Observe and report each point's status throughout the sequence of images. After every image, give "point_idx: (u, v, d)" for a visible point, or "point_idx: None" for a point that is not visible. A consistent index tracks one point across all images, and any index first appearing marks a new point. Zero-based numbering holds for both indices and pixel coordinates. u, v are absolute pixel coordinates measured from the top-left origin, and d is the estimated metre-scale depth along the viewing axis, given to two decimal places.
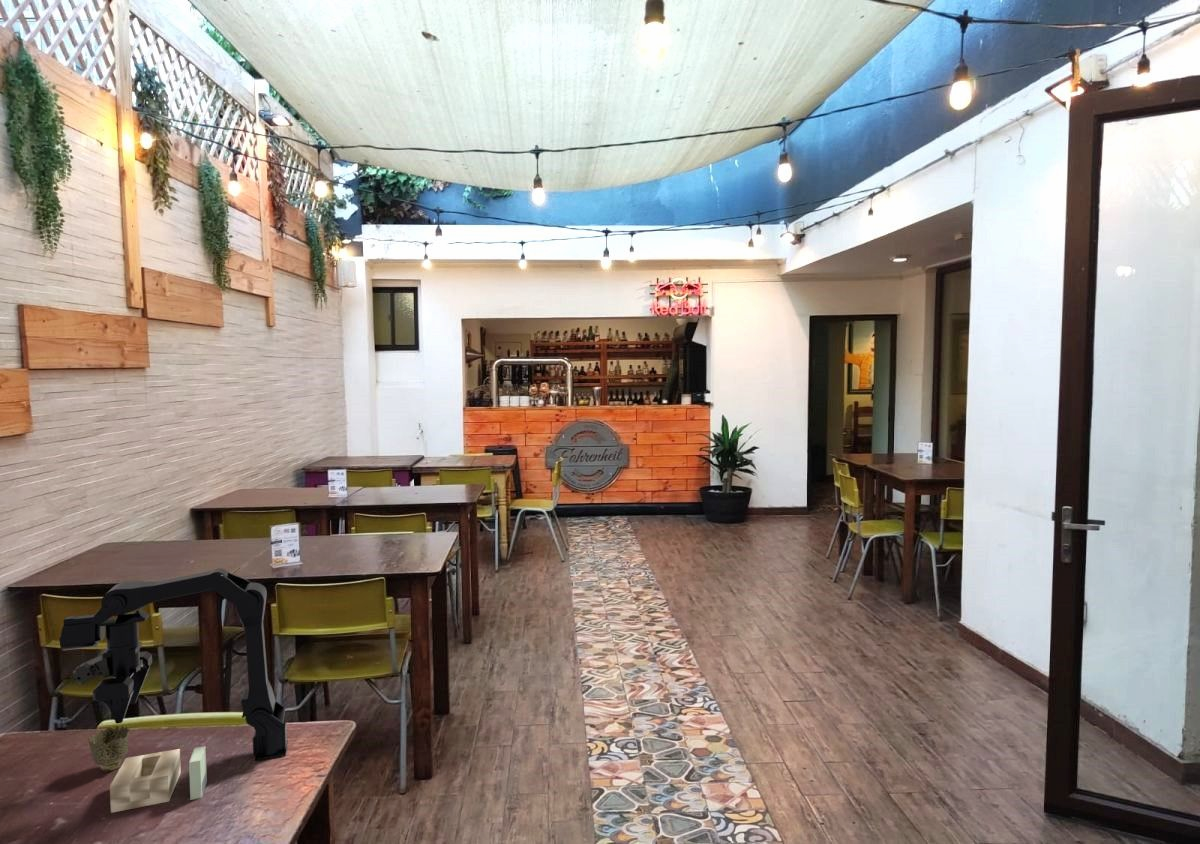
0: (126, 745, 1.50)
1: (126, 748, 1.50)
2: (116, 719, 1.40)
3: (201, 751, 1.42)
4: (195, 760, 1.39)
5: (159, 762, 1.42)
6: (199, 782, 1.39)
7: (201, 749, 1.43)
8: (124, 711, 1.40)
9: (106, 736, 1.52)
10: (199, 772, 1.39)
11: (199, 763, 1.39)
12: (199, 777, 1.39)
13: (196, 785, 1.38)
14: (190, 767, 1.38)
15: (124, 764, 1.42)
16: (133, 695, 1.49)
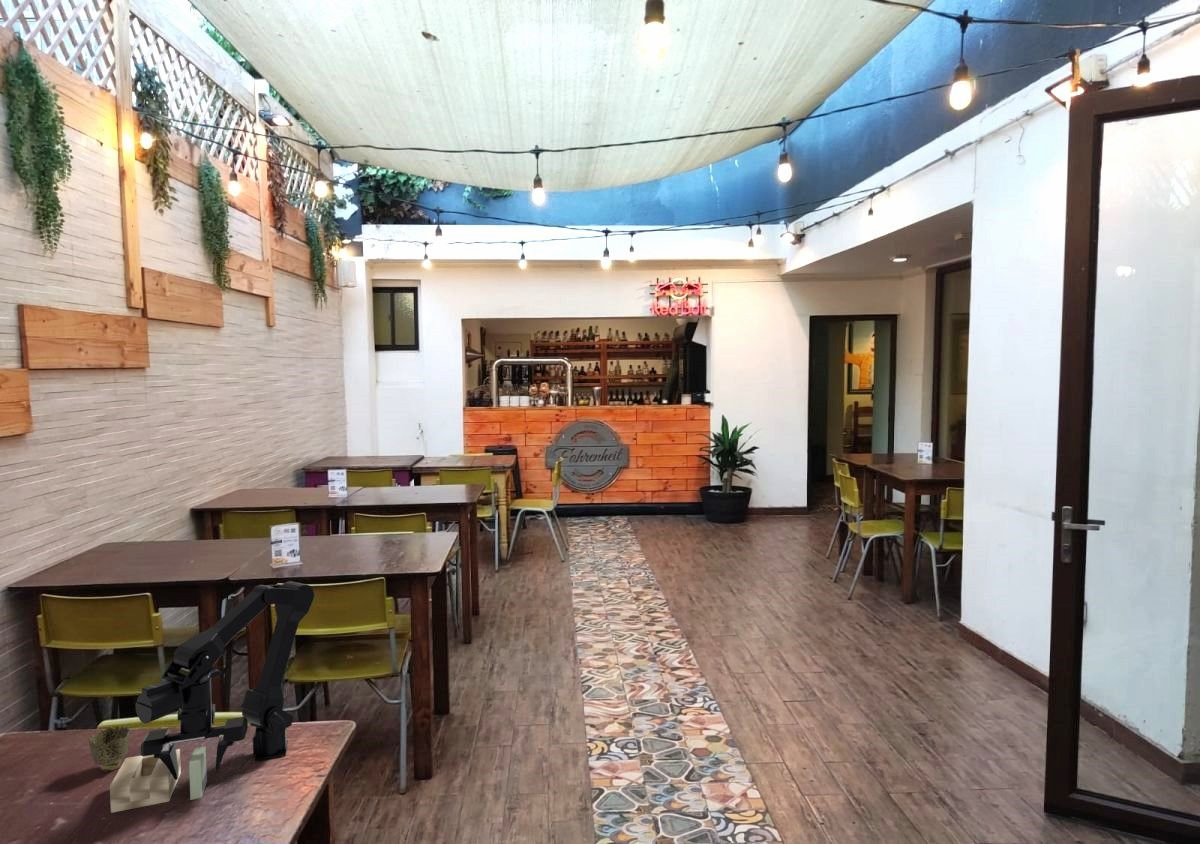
0: (126, 745, 1.50)
1: (126, 748, 1.50)
2: None
3: (201, 751, 1.42)
4: (195, 760, 1.39)
5: (159, 762, 1.42)
6: (199, 782, 1.39)
7: (201, 749, 1.43)
8: (169, 770, 1.38)
9: (106, 736, 1.52)
10: (199, 772, 1.39)
11: (199, 763, 1.39)
12: (199, 777, 1.39)
13: (196, 785, 1.38)
14: (190, 767, 1.38)
15: (124, 764, 1.42)
16: None
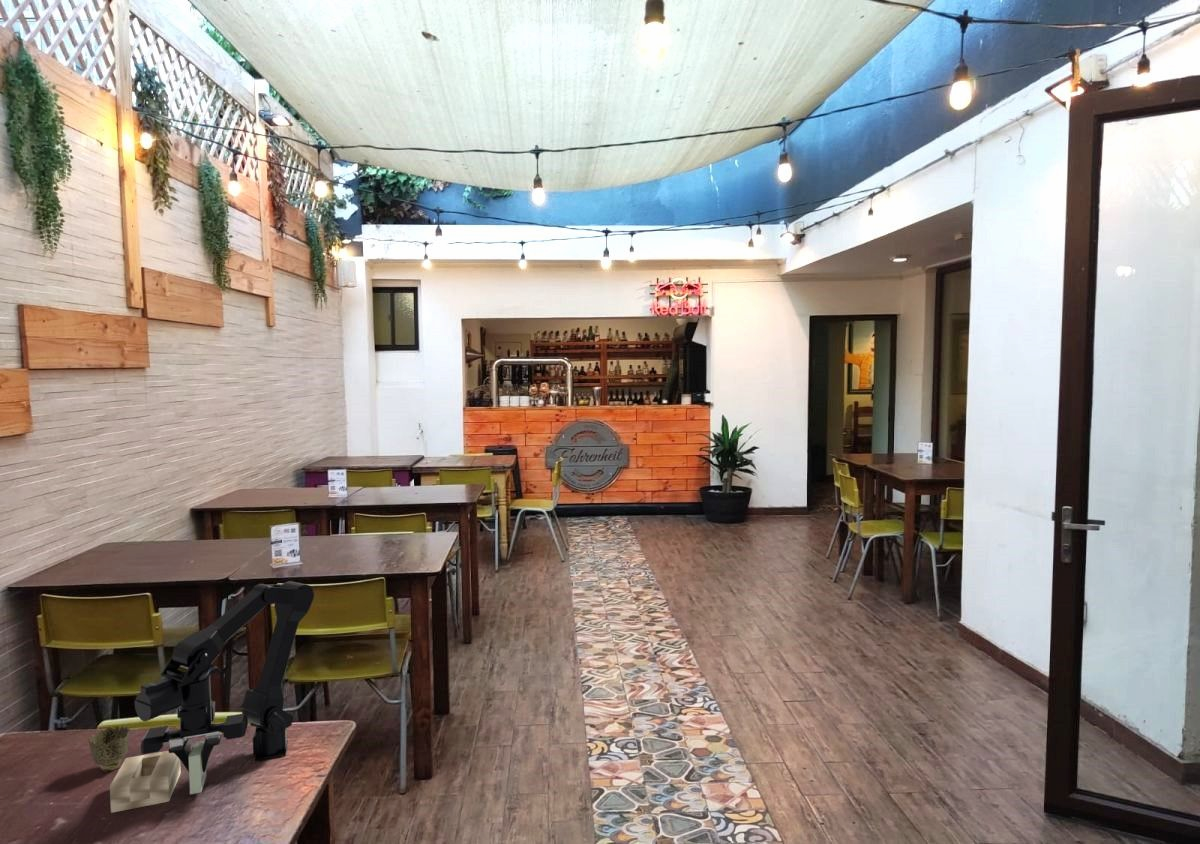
0: (126, 745, 1.50)
1: (126, 748, 1.50)
2: None
3: (201, 746, 1.42)
4: (194, 754, 1.38)
5: (159, 762, 1.42)
6: (199, 776, 1.39)
7: (201, 744, 1.43)
8: None
9: (106, 736, 1.52)
10: (199, 766, 1.38)
11: (198, 757, 1.38)
12: (199, 771, 1.38)
13: (196, 780, 1.38)
14: (189, 761, 1.38)
15: (124, 764, 1.42)
16: None
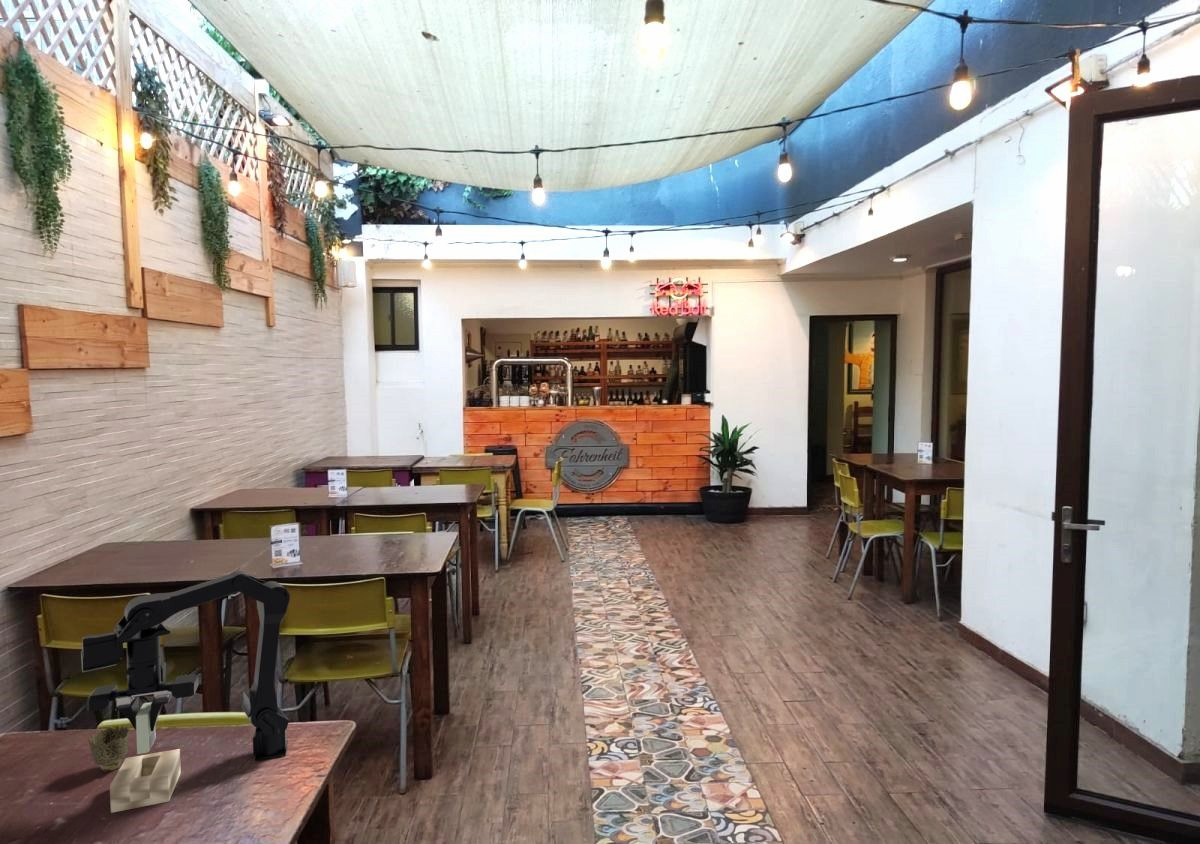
0: (126, 745, 1.50)
1: (126, 748, 1.50)
2: None
3: (149, 706, 1.41)
4: (142, 714, 1.38)
5: (159, 762, 1.42)
6: (146, 736, 1.38)
7: (150, 704, 1.42)
8: (131, 723, 1.38)
9: (106, 736, 1.52)
10: (146, 726, 1.38)
11: (146, 717, 1.38)
12: (146, 731, 1.38)
13: (143, 739, 1.37)
14: (137, 721, 1.37)
15: (124, 764, 1.42)
16: None
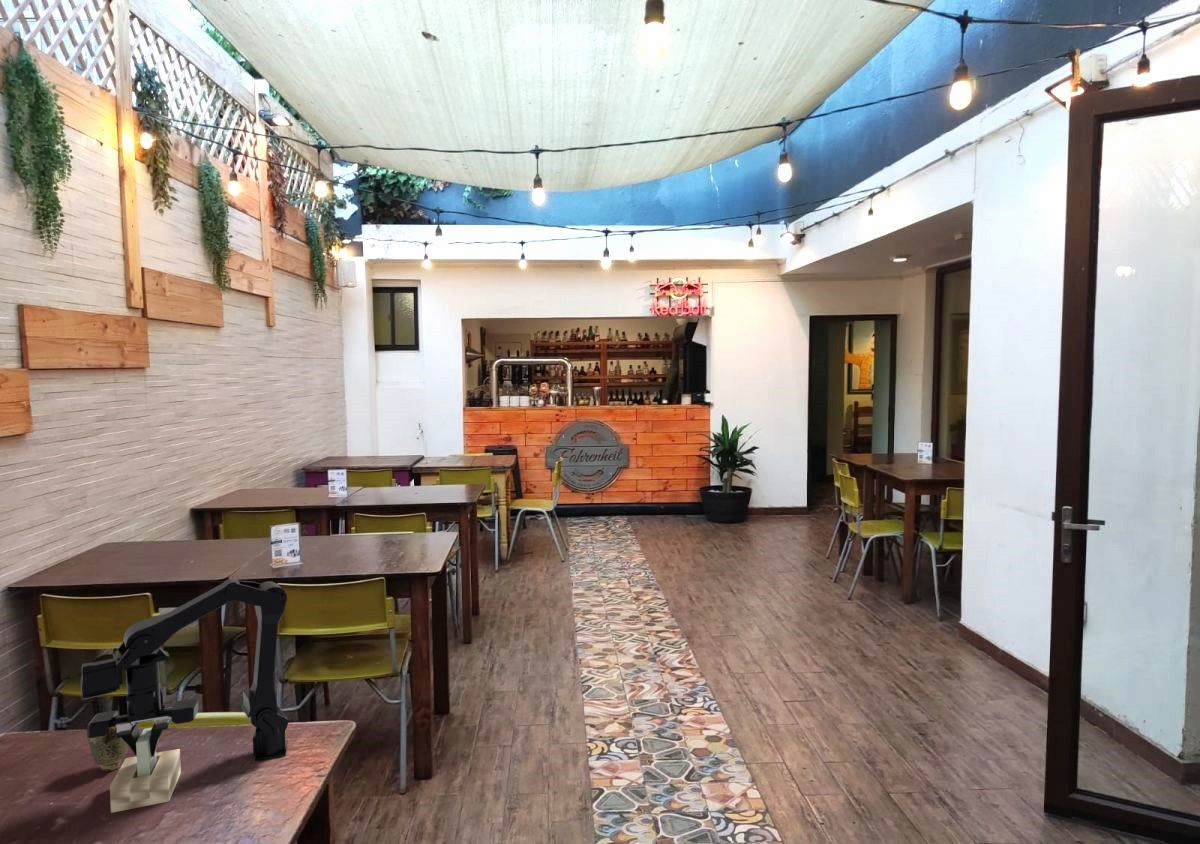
0: (126, 745, 1.50)
1: (126, 748, 1.50)
2: None
3: (150, 732, 1.41)
4: (142, 740, 1.38)
5: (159, 762, 1.42)
6: (146, 762, 1.38)
7: (150, 730, 1.42)
8: None
9: (106, 736, 1.52)
10: (146, 752, 1.38)
11: (146, 743, 1.38)
12: (146, 757, 1.38)
13: (143, 766, 1.38)
14: (137, 747, 1.37)
15: (124, 764, 1.42)
16: None
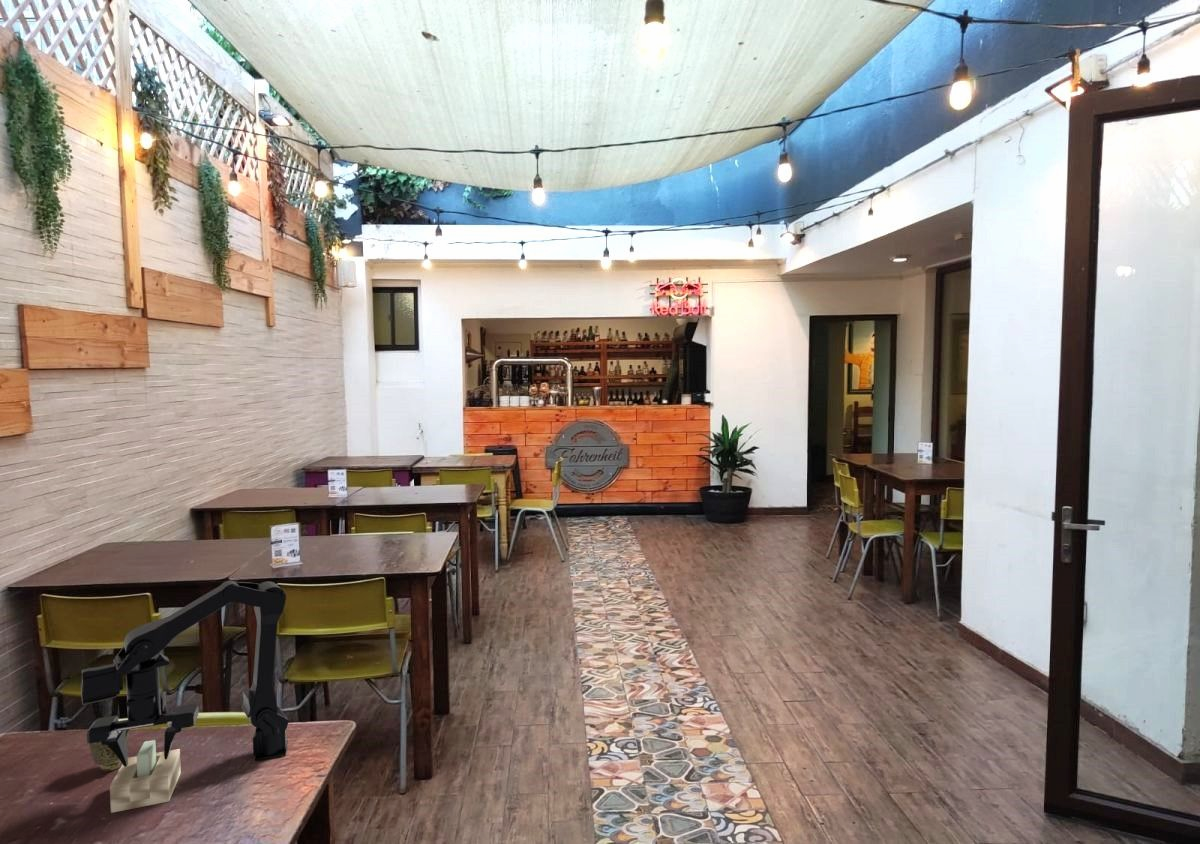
0: (126, 745, 1.50)
1: None
2: None
3: (150, 745, 1.42)
4: (143, 754, 1.38)
5: (159, 762, 1.42)
6: None
7: (150, 743, 1.42)
8: None
9: None
10: (147, 766, 1.38)
11: (147, 757, 1.38)
12: (147, 771, 1.38)
13: None
14: (138, 761, 1.38)
15: None
16: None
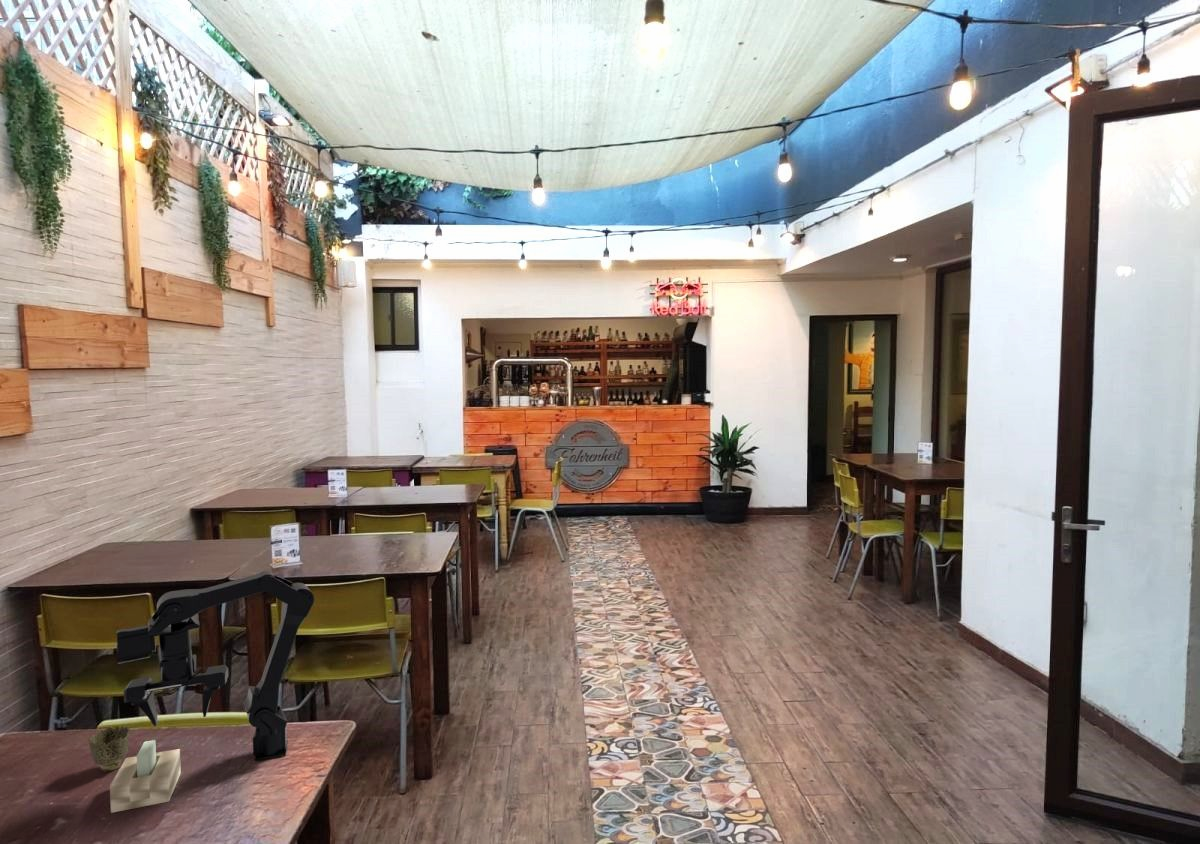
0: (126, 745, 1.50)
1: (126, 748, 1.50)
2: None
3: (150, 745, 1.42)
4: (143, 754, 1.38)
5: (159, 762, 1.42)
6: None
7: (150, 743, 1.42)
8: None
9: (106, 736, 1.52)
10: (147, 766, 1.38)
11: (147, 757, 1.38)
12: (147, 771, 1.38)
13: None
14: (138, 761, 1.38)
15: (124, 764, 1.42)
16: None
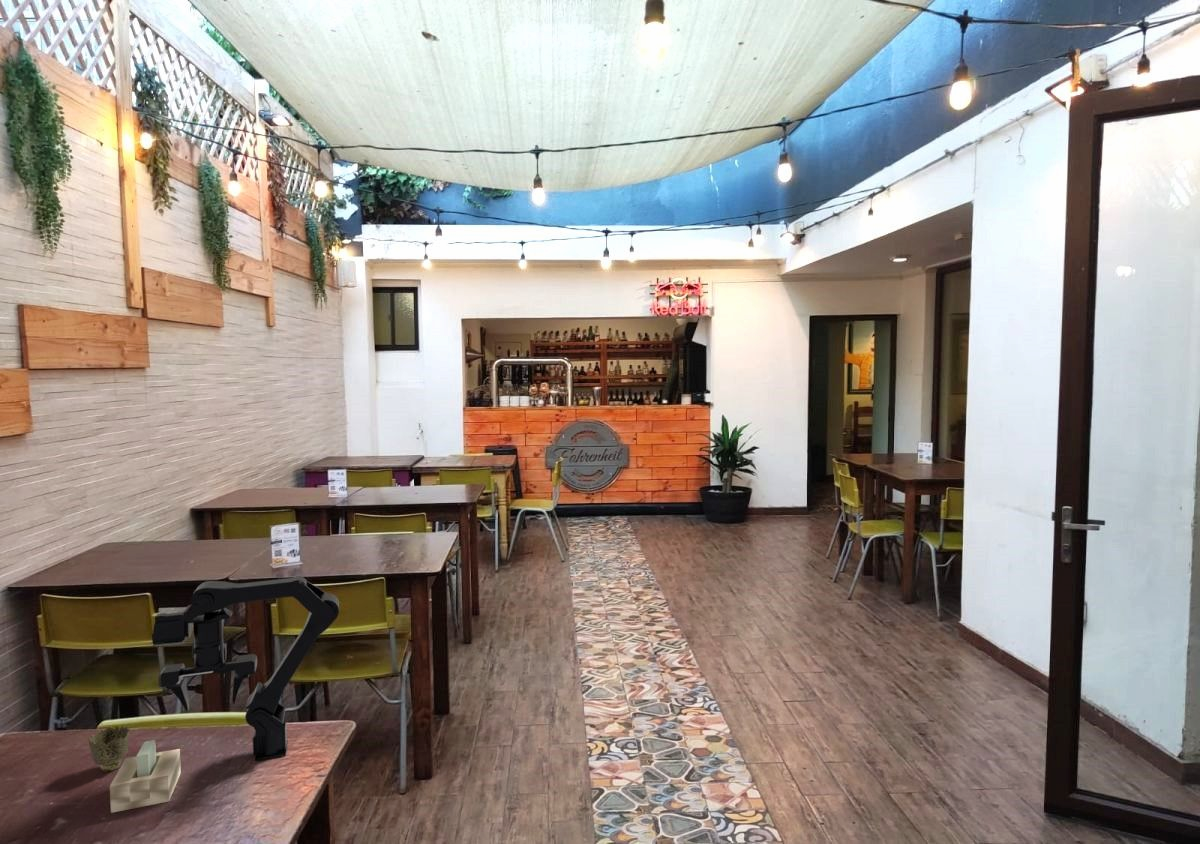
0: (126, 745, 1.50)
1: (126, 748, 1.50)
2: None
3: (150, 745, 1.42)
4: (143, 754, 1.38)
5: (159, 762, 1.42)
6: None
7: (150, 743, 1.42)
8: (181, 701, 1.48)
9: (106, 736, 1.52)
10: (147, 766, 1.38)
11: (147, 757, 1.38)
12: (147, 771, 1.38)
13: None
14: (138, 761, 1.38)
15: (124, 764, 1.42)
16: None
